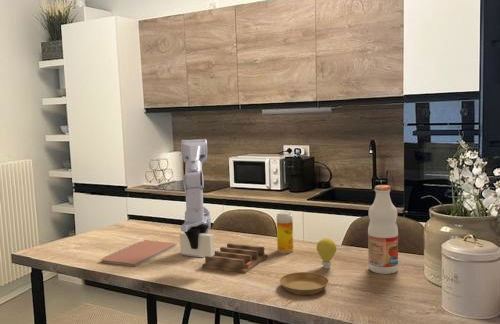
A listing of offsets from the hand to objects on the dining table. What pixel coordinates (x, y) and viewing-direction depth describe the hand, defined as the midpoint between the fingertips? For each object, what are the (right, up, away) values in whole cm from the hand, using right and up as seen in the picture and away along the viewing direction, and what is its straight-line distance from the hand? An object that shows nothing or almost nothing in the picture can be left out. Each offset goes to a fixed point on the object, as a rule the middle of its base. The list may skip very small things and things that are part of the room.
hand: (196, 247), depth 155 cm
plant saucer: (+34, -10, -16) cm, 39 cm away
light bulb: (+44, -7, +1) cm, 45 cm away
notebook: (-25, -8, +25) cm, 36 cm away
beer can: (+32, -6, +21) cm, 38 cm away
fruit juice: (+62, -7, -3) cm, 62 cm away
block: (0, -2, 0) cm, 2 cm away
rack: (+13, -7, +10) cm, 18 cm away
